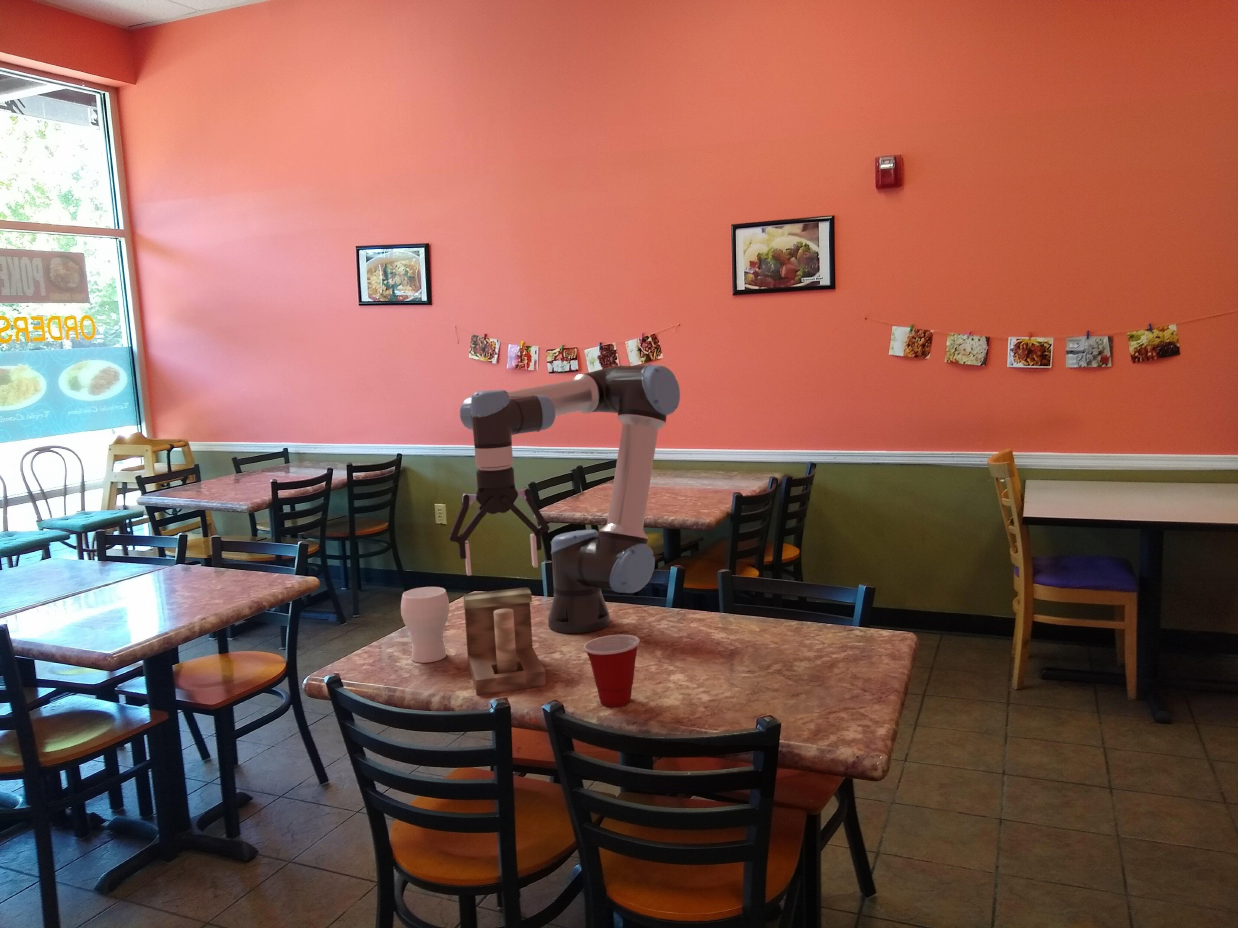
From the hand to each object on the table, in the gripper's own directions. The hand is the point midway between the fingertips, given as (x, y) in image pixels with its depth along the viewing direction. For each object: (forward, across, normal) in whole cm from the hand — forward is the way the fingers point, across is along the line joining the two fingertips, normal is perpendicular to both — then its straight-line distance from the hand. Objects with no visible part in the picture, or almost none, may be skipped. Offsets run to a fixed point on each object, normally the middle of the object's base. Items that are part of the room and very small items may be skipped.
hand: (502, 569), depth 188 cm
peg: (+23, +1, +2) cm, 23 cm away
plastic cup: (+24, -17, +20) cm, 35 cm away
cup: (+23, +15, -20) cm, 35 cm away
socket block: (+23, +1, -2) cm, 23 cm away
